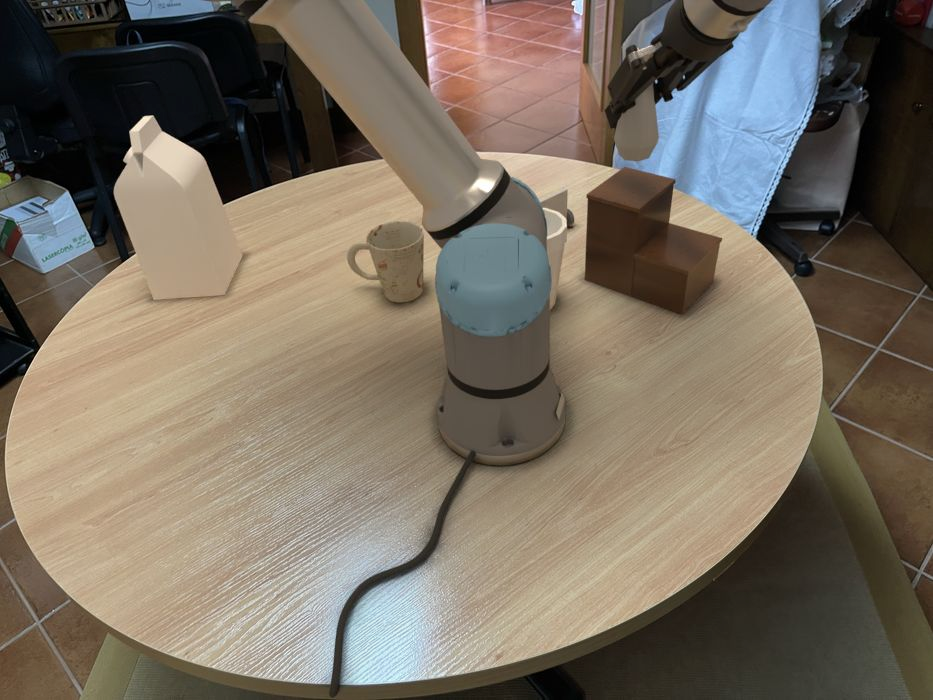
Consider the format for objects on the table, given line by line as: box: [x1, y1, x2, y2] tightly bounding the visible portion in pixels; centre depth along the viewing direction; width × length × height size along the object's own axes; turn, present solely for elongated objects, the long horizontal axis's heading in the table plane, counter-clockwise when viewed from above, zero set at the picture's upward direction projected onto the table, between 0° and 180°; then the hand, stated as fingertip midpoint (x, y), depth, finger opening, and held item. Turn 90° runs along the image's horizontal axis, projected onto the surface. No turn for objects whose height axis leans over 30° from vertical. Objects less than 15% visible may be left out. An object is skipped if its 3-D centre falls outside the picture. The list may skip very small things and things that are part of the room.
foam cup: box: [543, 208, 568, 311], centre depth 98 cm, size 10×9×13 cm
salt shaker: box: [613, 83, 660, 162], centre depth 90 cm, size 6×6×13 cm
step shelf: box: [584, 166, 723, 315], centre depth 99 cm, size 10×16×14 cm, turn 50°
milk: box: [113, 115, 244, 301], centre depth 106 cm, size 12×12×26 cm
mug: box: [346, 220, 425, 303], centre depth 104 cm, size 8×13×10 cm, turn 78°
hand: (622, 116), depth 94 cm, fingers closed on salt shaker, 3 cm apart
